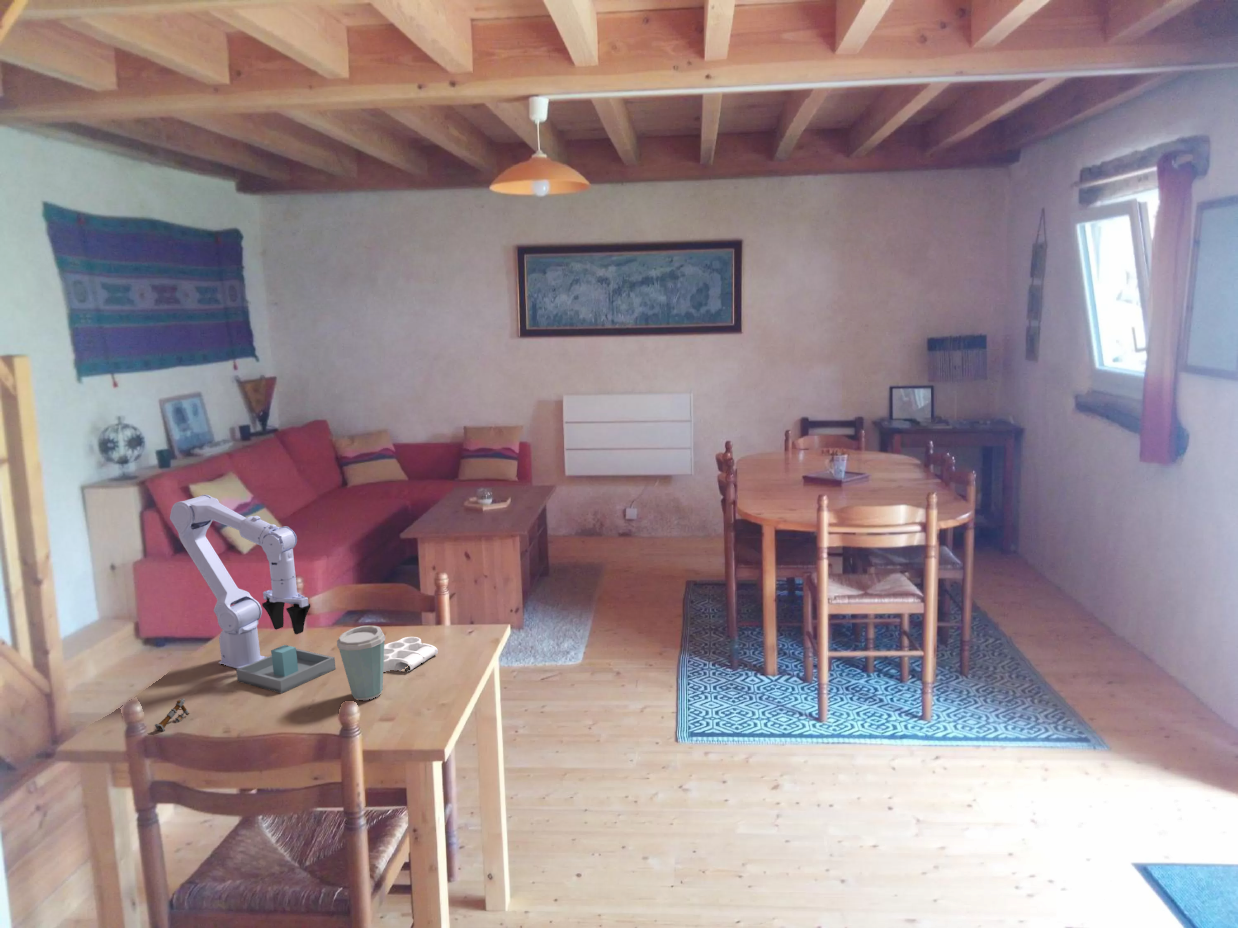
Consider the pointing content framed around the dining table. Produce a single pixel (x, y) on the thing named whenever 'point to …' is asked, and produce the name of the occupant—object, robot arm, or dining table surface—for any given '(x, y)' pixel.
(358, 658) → the disposable coffee cup
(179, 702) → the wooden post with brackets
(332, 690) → the dining table surface
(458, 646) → the dining table surface
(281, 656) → the block
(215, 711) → the dining table surface
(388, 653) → the white muffin tin
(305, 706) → the dining table surface
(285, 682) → the tray
